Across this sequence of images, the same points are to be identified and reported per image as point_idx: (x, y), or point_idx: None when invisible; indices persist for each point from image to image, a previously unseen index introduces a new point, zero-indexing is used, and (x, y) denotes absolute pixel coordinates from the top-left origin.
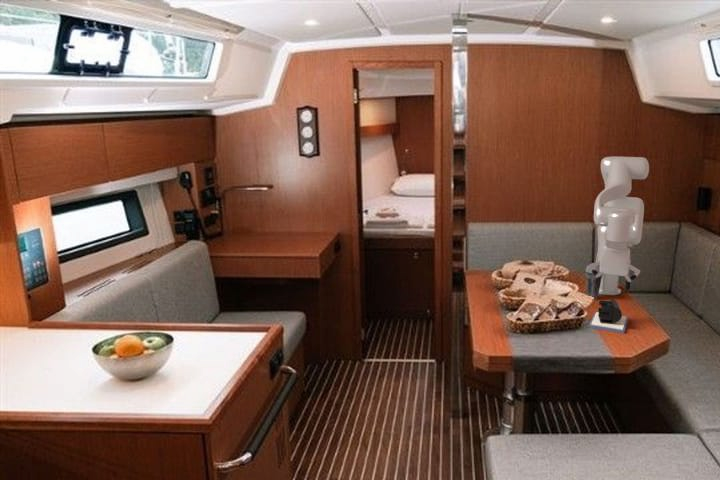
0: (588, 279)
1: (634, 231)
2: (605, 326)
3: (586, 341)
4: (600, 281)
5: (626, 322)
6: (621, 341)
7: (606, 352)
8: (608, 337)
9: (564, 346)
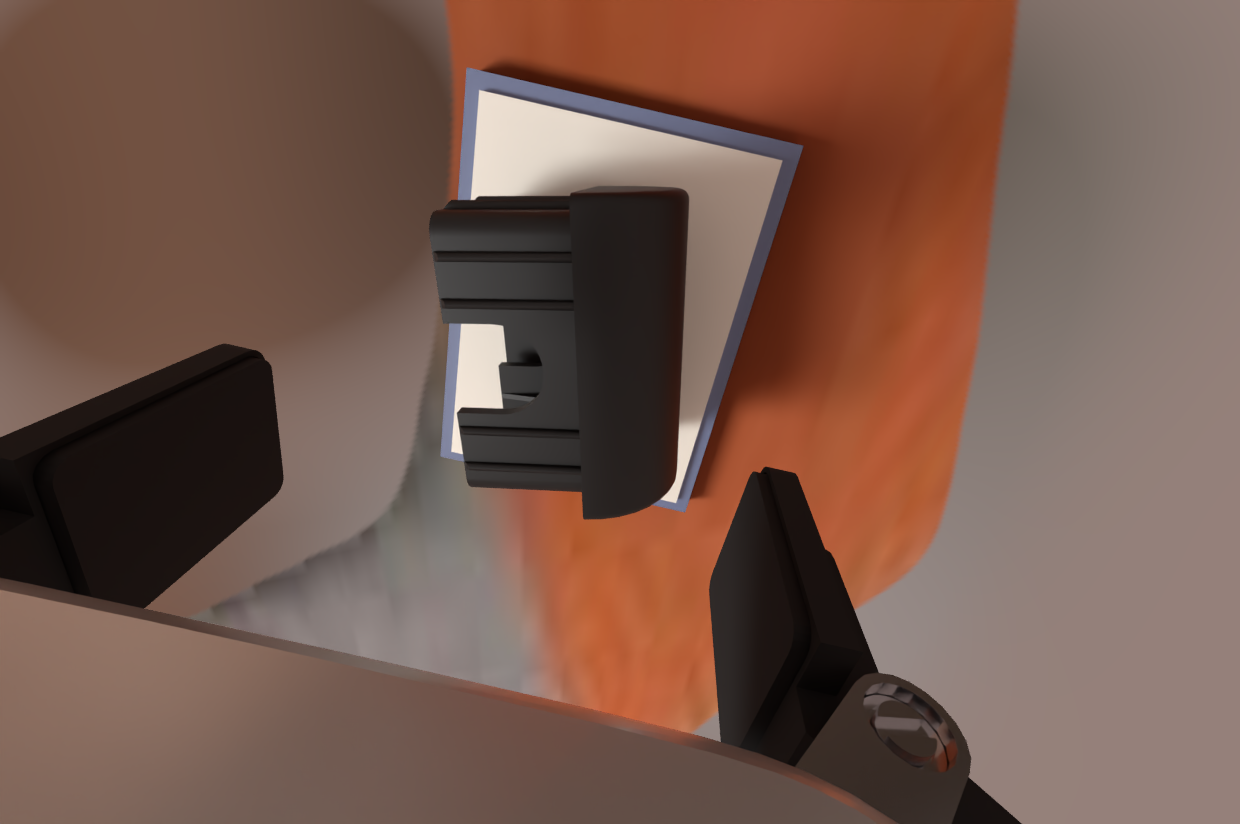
0: None
1: None
2: None
3: (453, 651)
4: (186, 418)
5: (743, 323)
6: (644, 620)
7: None
8: (573, 581)
9: None
